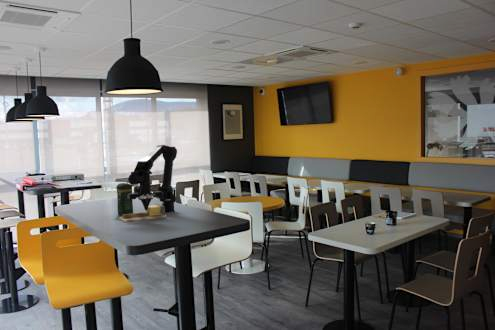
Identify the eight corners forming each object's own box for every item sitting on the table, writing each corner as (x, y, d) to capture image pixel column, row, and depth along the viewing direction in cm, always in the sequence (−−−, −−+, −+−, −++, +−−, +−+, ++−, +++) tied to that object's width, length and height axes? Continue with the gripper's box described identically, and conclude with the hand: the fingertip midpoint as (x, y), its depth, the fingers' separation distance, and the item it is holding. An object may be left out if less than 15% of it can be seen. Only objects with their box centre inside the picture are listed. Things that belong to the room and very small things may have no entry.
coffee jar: (135, 214, 234) (133, 183, 233) (122, 216, 229) (120, 184, 228) (128, 212, 241) (127, 182, 240) (116, 214, 236) (114, 183, 235)
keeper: (156, 212, 229) (156, 205, 229) (160, 214, 222) (160, 206, 222) (146, 214, 226) (146, 206, 226) (150, 216, 219) (149, 208, 219)
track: (160, 214, 232) (159, 203, 232) (166, 217, 222) (166, 206, 221) (119, 218, 221) (119, 208, 221) (124, 222, 211) (123, 211, 210)
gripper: (157, 180, 233) (158, 207, 234) (124, 182, 224) (125, 210, 225) (162, 182, 223) (163, 209, 224) (129, 184, 214) (130, 213, 215)
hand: (146, 210), depth 222 cm, fingers closed
